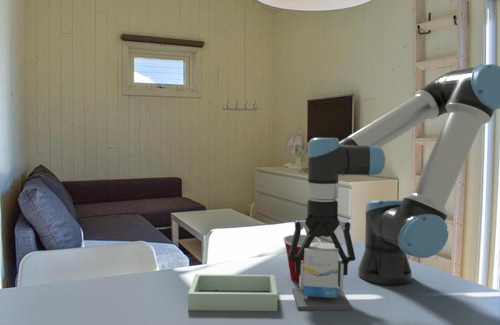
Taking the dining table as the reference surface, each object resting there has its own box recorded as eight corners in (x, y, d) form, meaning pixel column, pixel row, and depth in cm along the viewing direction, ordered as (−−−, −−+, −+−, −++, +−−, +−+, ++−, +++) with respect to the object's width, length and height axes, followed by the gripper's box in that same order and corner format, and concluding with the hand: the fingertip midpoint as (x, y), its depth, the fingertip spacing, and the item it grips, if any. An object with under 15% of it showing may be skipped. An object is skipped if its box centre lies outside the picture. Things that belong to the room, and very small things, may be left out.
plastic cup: (289, 287, 123) (290, 244, 123) (277, 275, 134) (278, 235, 133) (326, 284, 126) (327, 242, 125) (311, 272, 136) (312, 233, 136)
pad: (340, 291, 120) (340, 288, 120) (351, 310, 107) (351, 307, 107) (292, 290, 120) (292, 287, 120) (297, 309, 107) (297, 306, 107)
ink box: (337, 298, 109) (338, 251, 108) (302, 296, 110) (303, 249, 110) (338, 287, 117) (339, 243, 116) (305, 284, 119) (306, 241, 118)
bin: (273, 289, 121) (274, 275, 121) (277, 311, 107) (277, 294, 106) (195, 288, 121) (195, 274, 121) (187, 310, 106) (187, 293, 106)
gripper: (362, 197, 116) (360, 282, 118) (277, 196, 116) (276, 282, 117) (370, 202, 109) (368, 293, 110) (279, 201, 109) (278, 292, 110)
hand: (320, 287), depth 114 cm, fingers closed on ink box, 9 cm apart
